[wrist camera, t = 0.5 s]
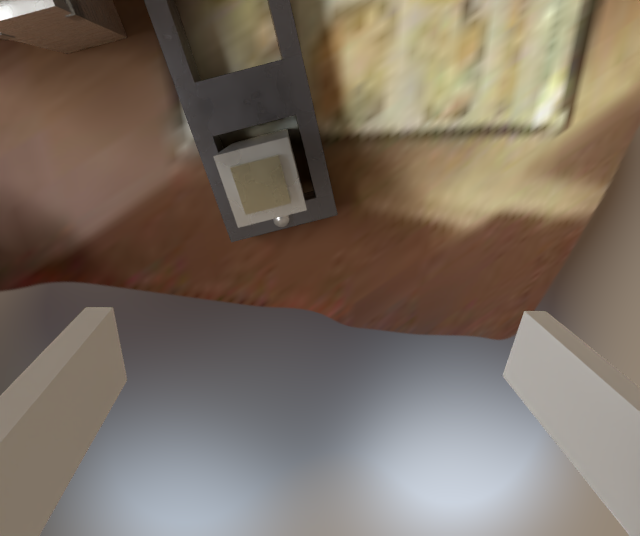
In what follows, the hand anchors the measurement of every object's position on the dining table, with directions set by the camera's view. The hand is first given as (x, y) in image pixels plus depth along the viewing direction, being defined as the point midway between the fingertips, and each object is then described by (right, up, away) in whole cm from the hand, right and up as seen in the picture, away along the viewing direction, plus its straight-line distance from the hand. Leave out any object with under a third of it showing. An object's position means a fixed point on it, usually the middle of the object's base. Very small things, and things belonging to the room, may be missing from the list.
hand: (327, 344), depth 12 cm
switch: (-6, +17, +20) cm, 27 cm away
